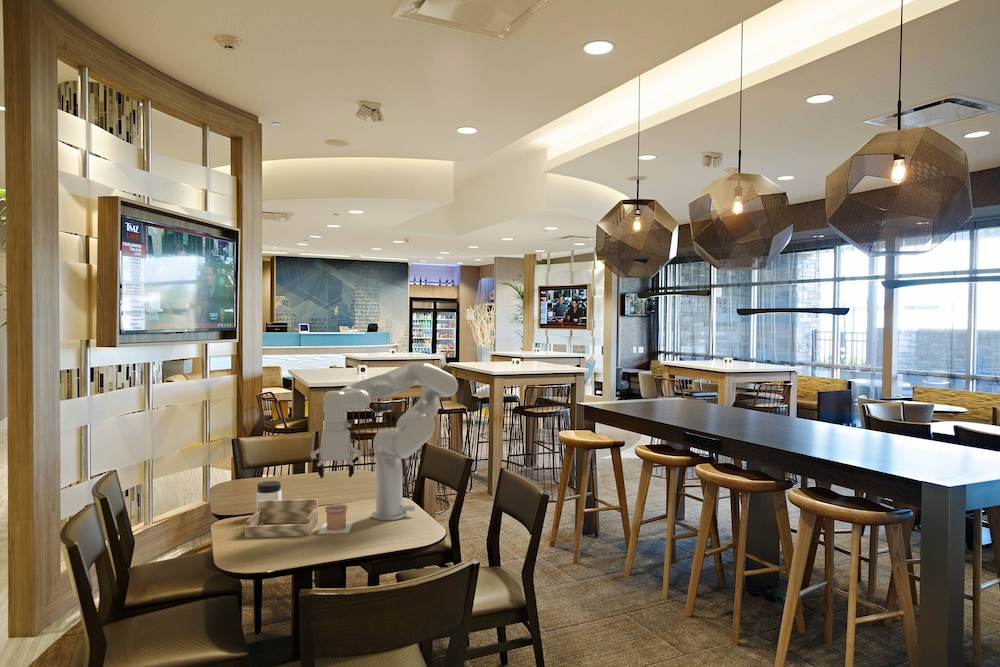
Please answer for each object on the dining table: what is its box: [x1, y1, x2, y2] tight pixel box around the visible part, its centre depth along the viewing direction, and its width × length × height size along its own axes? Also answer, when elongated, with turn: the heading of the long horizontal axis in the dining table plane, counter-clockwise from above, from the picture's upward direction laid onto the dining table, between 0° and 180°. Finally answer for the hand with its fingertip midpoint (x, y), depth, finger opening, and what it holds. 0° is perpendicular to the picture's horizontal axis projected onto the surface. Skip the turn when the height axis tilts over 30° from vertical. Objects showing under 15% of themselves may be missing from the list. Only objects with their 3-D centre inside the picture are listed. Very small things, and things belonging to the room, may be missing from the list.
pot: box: [324, 503, 348, 530], centre depth 224 cm, size 7×7×7 cm
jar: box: [255, 480, 283, 511], centre depth 240 cm, size 9×8×12 cm
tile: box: [317, 521, 354, 535], centre depth 224 cm, size 10×12×1 cm
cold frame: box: [244, 498, 319, 538], centre depth 224 cm, size 20×16×8 cm
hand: (336, 476), depth 225 cm, fingers open, 9 cm apart
